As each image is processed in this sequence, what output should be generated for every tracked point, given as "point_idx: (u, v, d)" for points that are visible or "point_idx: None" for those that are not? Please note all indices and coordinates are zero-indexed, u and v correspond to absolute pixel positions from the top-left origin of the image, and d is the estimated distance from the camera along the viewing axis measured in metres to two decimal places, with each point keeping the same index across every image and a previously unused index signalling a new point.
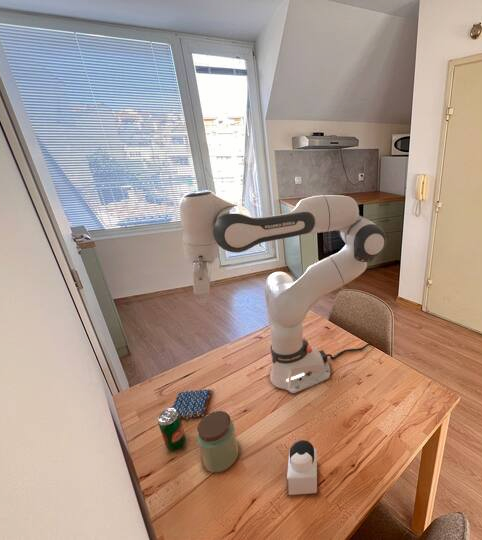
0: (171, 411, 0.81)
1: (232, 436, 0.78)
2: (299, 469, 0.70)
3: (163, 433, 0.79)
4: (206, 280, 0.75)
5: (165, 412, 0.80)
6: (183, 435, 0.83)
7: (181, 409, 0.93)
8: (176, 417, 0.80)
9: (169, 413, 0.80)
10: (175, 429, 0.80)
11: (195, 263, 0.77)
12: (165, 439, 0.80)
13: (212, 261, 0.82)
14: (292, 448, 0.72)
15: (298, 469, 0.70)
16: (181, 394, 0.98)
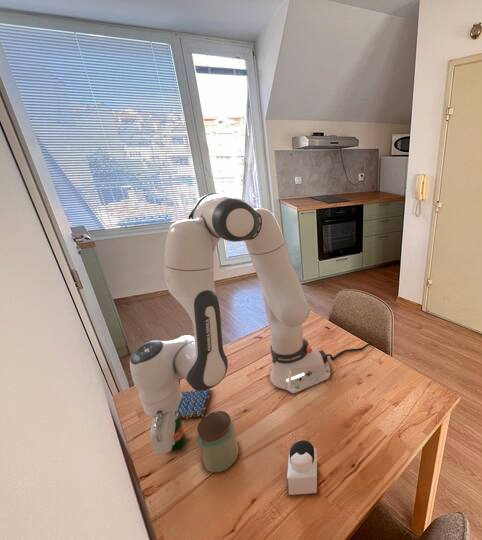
0: None
1: (232, 436, 0.78)
2: (299, 469, 0.70)
3: None
4: (166, 440, 0.71)
5: None
6: (183, 435, 0.83)
7: (181, 409, 0.93)
8: (176, 417, 0.80)
9: None
10: (175, 429, 0.80)
11: (154, 420, 0.73)
12: None
13: None
14: (292, 448, 0.72)
15: (298, 469, 0.70)
16: None
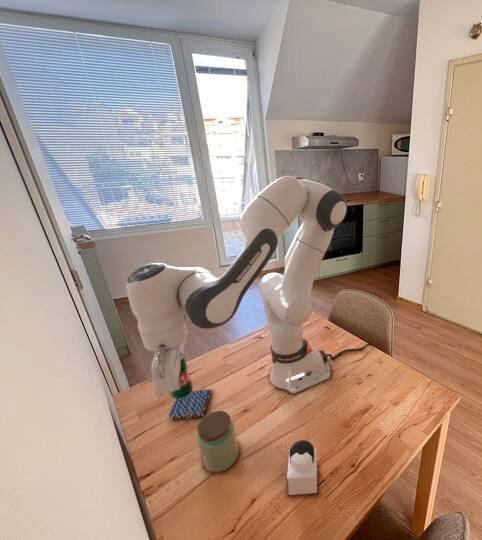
0: None
1: (232, 436, 0.78)
2: (299, 469, 0.70)
3: None
4: (169, 377, 0.61)
5: None
6: (189, 381, 0.73)
7: (181, 409, 0.93)
8: (181, 358, 0.70)
9: None
10: (180, 372, 0.70)
11: (156, 354, 0.63)
12: None
13: (179, 344, 0.67)
14: (292, 448, 0.72)
15: (298, 469, 0.70)
16: None
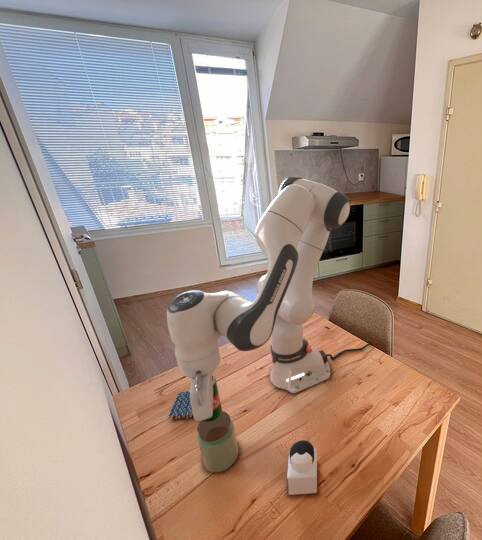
0: None
1: (232, 436, 0.78)
2: (299, 469, 0.70)
3: None
4: (207, 404, 0.62)
5: None
6: (219, 404, 0.74)
7: (181, 409, 0.93)
8: (213, 382, 0.70)
9: None
10: None
11: (192, 381, 0.63)
12: None
13: None
14: (292, 448, 0.72)
15: (298, 469, 0.70)
16: (181, 394, 0.98)
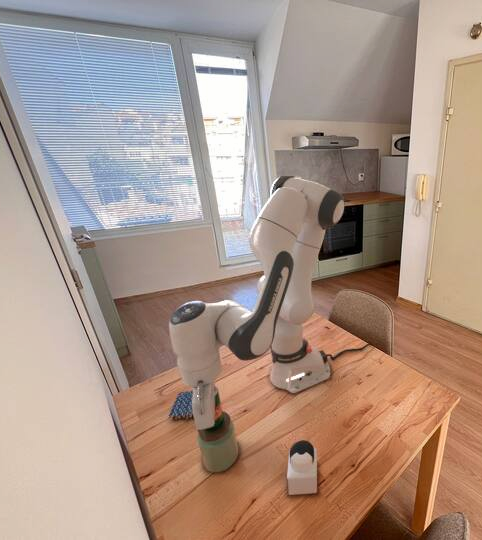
0: None
1: (232, 436, 0.78)
2: (299, 469, 0.70)
3: None
4: (209, 413, 0.63)
5: None
6: (221, 414, 0.75)
7: (181, 409, 0.93)
8: (216, 392, 0.72)
9: None
10: None
11: (194, 390, 0.65)
12: None
13: None
14: (292, 448, 0.72)
15: (298, 469, 0.70)
16: (181, 394, 0.98)
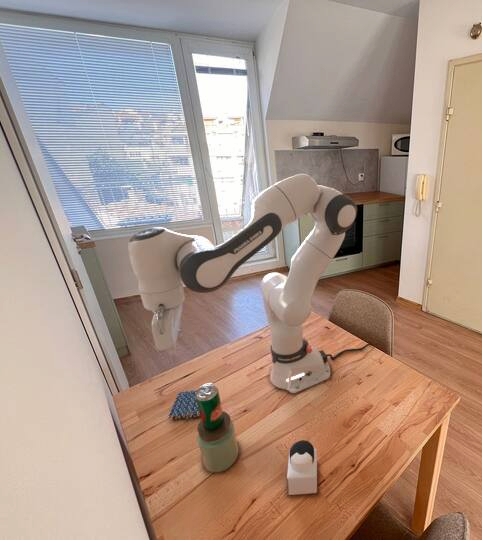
0: (210, 386, 0.73)
1: (232, 436, 0.78)
2: (299, 469, 0.70)
3: (201, 410, 0.71)
4: (169, 333, 0.65)
5: (203, 387, 0.72)
6: (221, 414, 0.75)
7: (181, 409, 0.93)
8: (216, 392, 0.72)
9: (208, 388, 0.72)
10: (214, 406, 0.72)
11: (155, 313, 0.66)
12: (203, 417, 0.72)
13: (177, 306, 0.71)
14: (292, 448, 0.72)
15: (298, 469, 0.70)
16: (181, 394, 0.98)
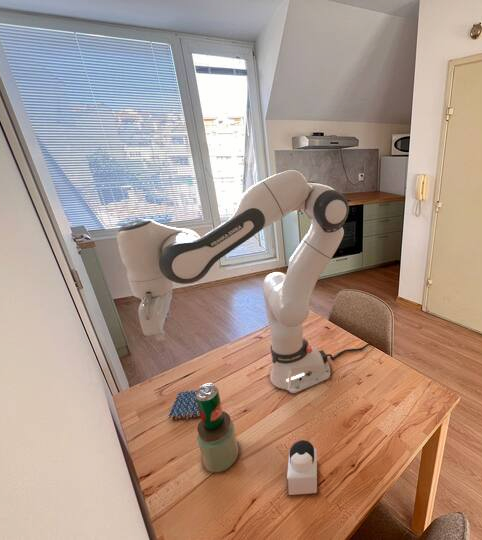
0: (210, 386, 0.73)
1: (232, 436, 0.78)
2: (299, 469, 0.70)
3: (201, 410, 0.71)
4: (155, 319, 0.68)
5: (203, 387, 0.72)
6: (221, 414, 0.75)
7: (181, 409, 0.93)
8: (216, 392, 0.72)
9: (208, 388, 0.72)
10: (214, 406, 0.72)
11: (143, 300, 0.70)
12: (203, 417, 0.72)
13: (165, 294, 0.75)
14: (292, 448, 0.72)
15: (298, 469, 0.70)
16: (181, 394, 0.98)
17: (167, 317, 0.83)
